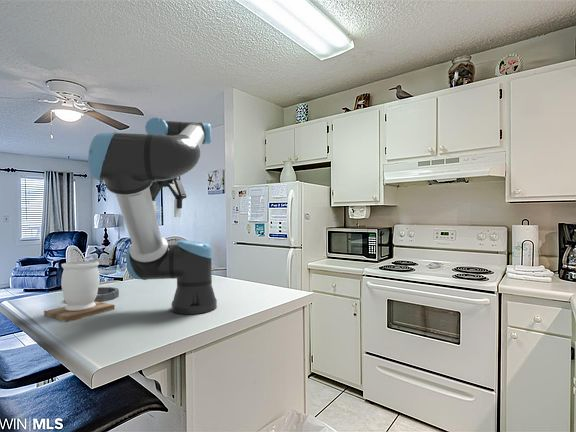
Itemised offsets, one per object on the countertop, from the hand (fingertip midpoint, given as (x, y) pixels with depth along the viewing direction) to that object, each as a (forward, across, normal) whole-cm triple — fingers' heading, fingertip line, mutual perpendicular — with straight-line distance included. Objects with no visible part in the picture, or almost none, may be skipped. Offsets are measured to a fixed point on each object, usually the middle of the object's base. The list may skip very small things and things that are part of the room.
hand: (164, 217), depth 125 cm
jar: (+30, +10, +26) cm, 41 cm away
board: (+32, +10, +26) cm, 42 cm away
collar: (+32, +25, +12) cm, 42 cm away
